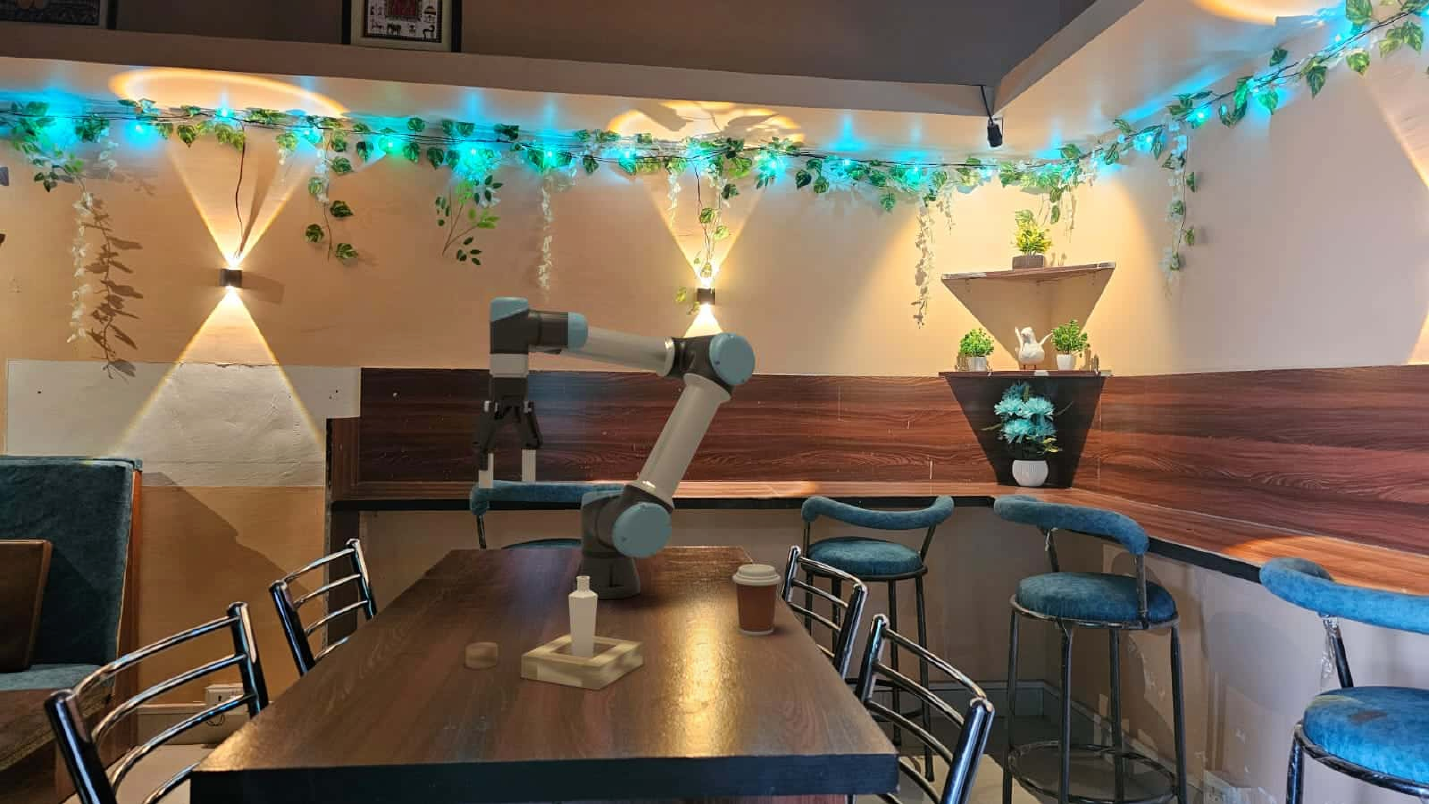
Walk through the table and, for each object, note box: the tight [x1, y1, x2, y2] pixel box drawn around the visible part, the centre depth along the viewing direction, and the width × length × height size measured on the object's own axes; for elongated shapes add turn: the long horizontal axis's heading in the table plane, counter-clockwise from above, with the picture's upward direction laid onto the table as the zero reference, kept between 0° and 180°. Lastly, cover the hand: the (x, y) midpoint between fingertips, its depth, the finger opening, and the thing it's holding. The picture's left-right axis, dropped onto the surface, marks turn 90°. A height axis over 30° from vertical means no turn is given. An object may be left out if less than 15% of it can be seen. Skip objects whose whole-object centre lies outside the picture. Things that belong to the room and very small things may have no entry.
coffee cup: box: [732, 563, 782, 636], centre depth 160 cm, size 9×9×12 cm
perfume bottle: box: [568, 576, 598, 659], centre depth 136 cm, size 5×4×15 cm
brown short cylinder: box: [465, 641, 499, 670], centre depth 139 cm, size 5×5×3 cm
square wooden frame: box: [520, 632, 644, 691], centre depth 136 cm, size 14×14×4 cm
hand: (508, 485), depth 166 cm, fingers open, 13 cm apart
